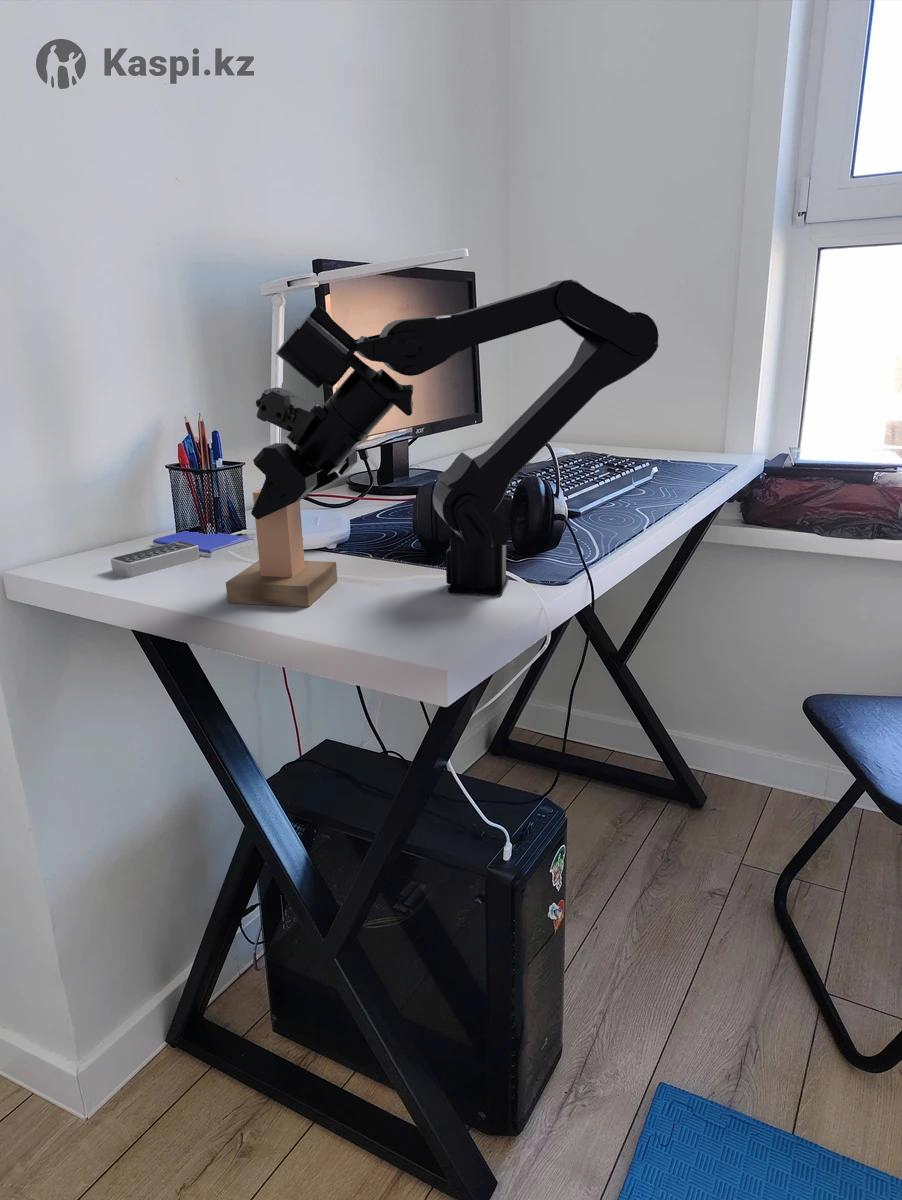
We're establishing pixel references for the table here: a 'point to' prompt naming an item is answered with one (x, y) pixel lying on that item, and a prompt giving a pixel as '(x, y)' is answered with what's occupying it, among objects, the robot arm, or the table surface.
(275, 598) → the plinth
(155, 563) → the multiport hub
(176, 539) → the hard drive
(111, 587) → the table surface
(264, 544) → the block
